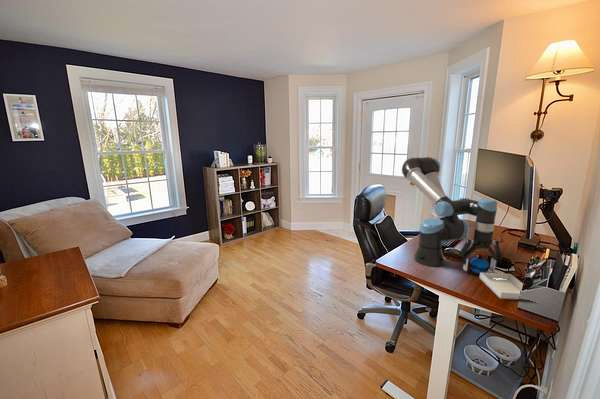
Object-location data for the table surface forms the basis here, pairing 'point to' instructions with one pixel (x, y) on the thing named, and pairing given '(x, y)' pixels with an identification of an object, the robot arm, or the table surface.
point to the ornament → (479, 265)
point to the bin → (502, 285)
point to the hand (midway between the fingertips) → (478, 270)
